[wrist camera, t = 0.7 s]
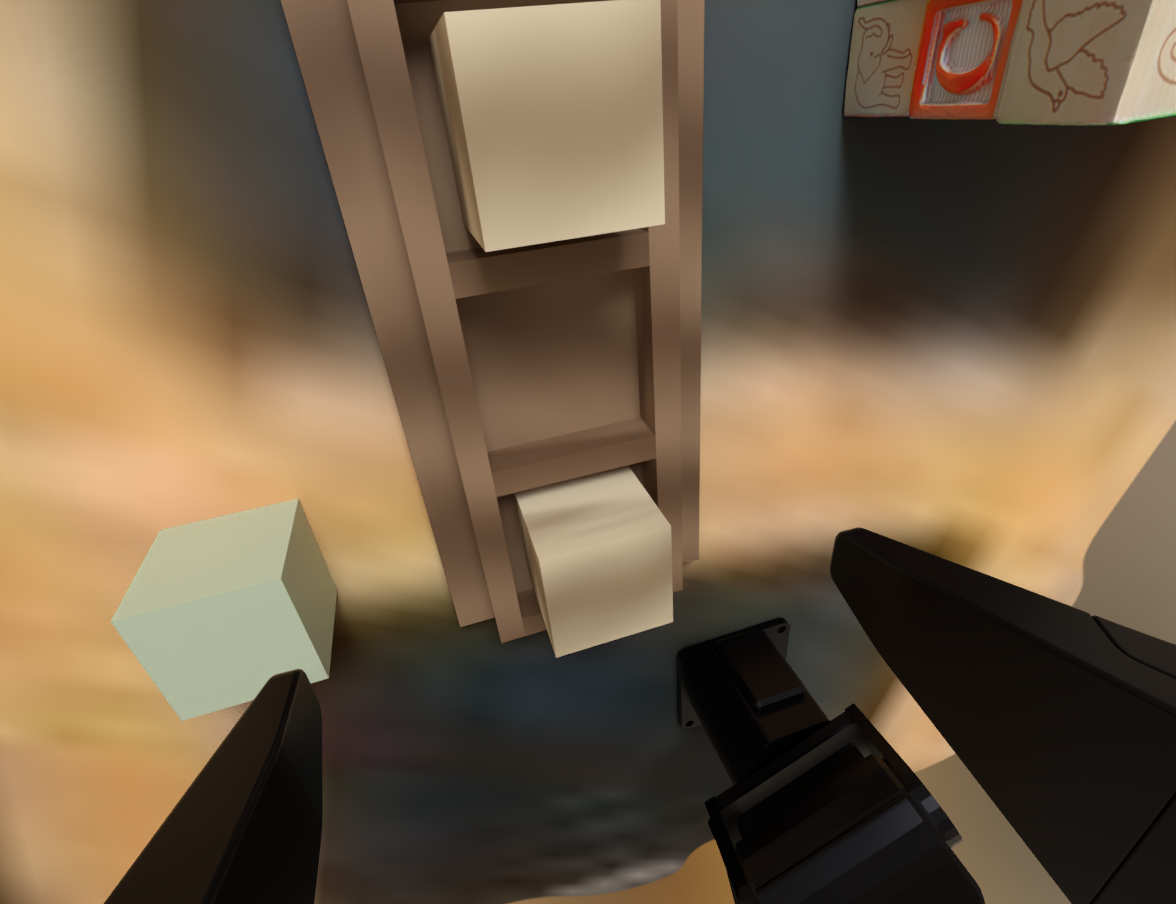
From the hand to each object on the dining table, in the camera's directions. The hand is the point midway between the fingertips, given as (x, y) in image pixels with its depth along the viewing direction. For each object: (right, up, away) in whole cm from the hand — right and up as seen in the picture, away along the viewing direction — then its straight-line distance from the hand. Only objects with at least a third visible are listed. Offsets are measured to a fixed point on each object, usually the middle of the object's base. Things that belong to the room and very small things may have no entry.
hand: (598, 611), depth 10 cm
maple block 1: (-2, +12, +7) cm, 14 cm away
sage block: (-13, -1, +12) cm, 18 cm away
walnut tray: (-2, +6, +12) cm, 13 cm away
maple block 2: (-1, 0, +14) cm, 14 cm away
